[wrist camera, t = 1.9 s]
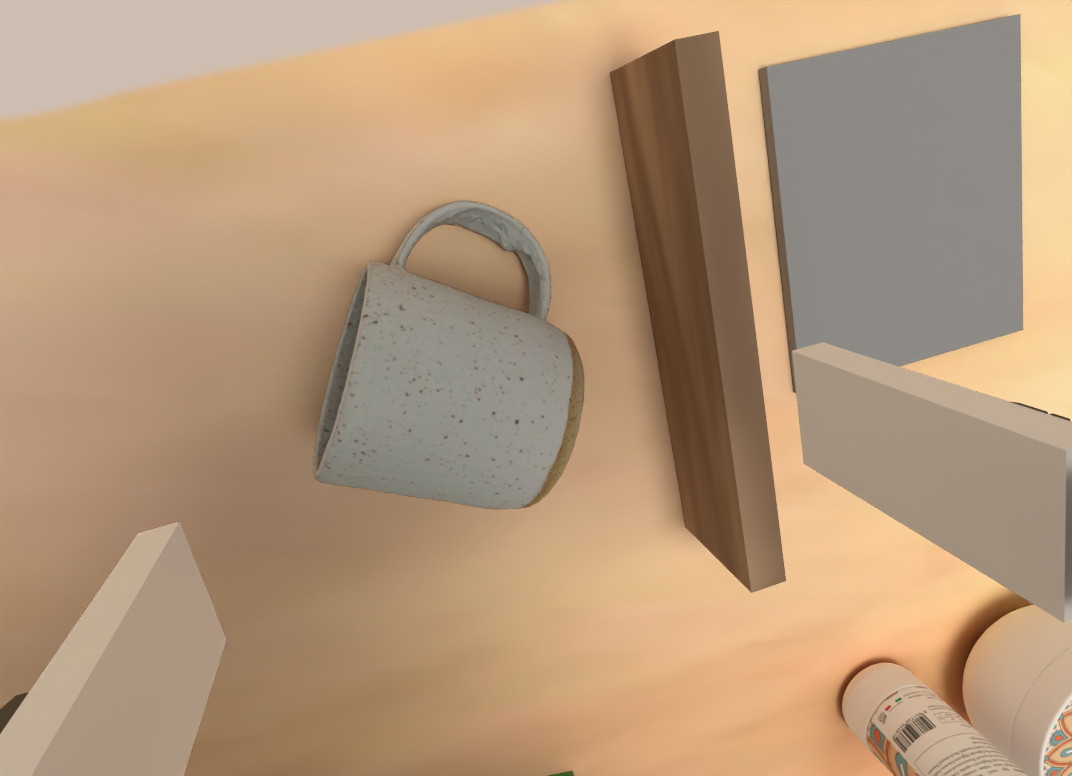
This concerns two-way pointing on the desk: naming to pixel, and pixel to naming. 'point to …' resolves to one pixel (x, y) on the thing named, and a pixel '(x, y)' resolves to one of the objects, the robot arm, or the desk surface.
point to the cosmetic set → (976, 707)
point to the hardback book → (564, 774)
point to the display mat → (900, 192)
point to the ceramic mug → (451, 382)
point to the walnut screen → (701, 299)
